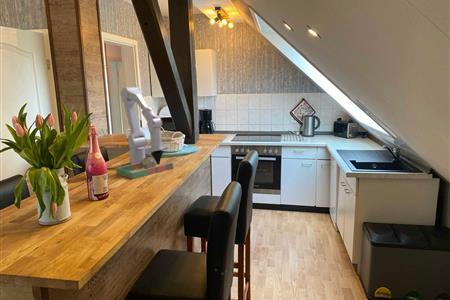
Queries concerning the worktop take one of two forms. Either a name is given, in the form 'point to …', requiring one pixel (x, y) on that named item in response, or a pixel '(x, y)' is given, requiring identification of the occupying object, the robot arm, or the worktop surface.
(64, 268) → the worktop surface
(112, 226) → the worktop surface
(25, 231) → the worktop surface
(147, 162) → the game die
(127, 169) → the trap track
